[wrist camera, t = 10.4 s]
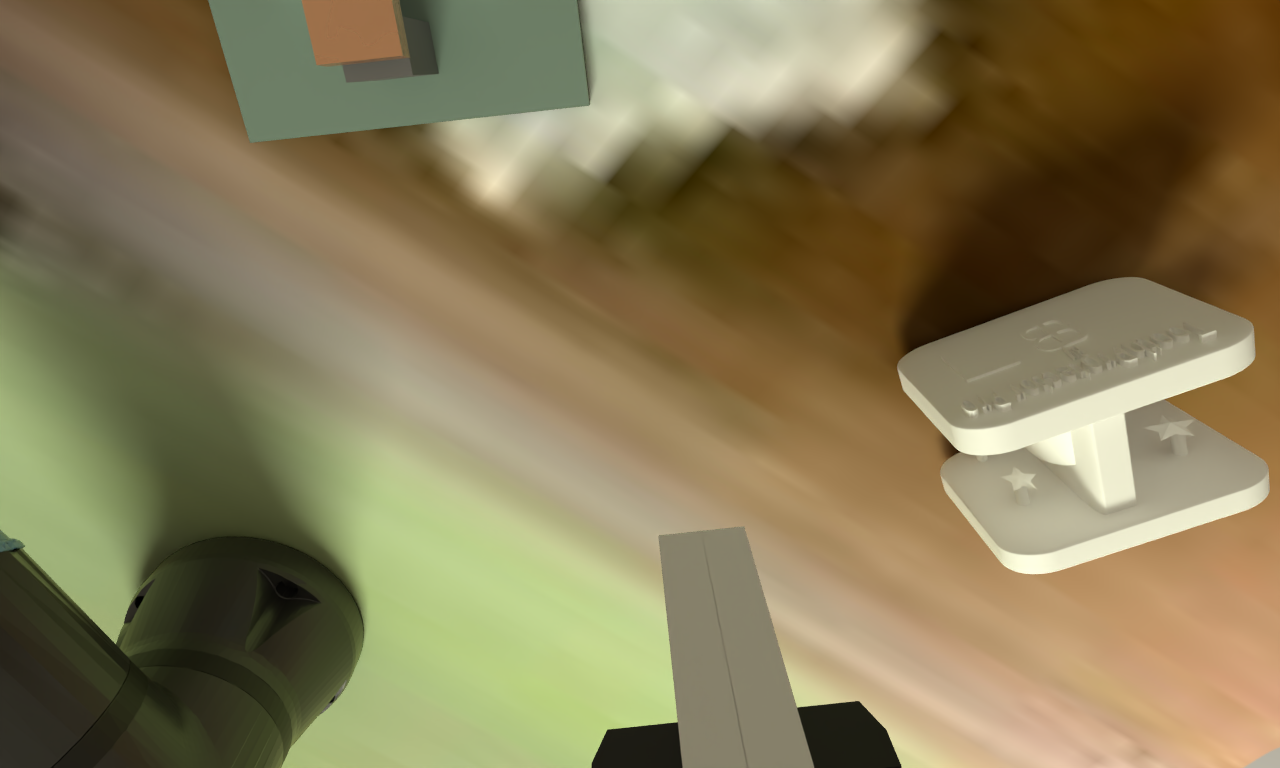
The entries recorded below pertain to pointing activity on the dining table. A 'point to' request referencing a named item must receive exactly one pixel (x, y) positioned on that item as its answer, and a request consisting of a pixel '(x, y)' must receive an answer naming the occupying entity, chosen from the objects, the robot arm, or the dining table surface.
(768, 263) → the dining table surface
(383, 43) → the orange-tipped flat strip
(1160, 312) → the cable organizer
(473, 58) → the heatsink board
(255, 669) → the robot arm
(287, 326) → the dining table surface
